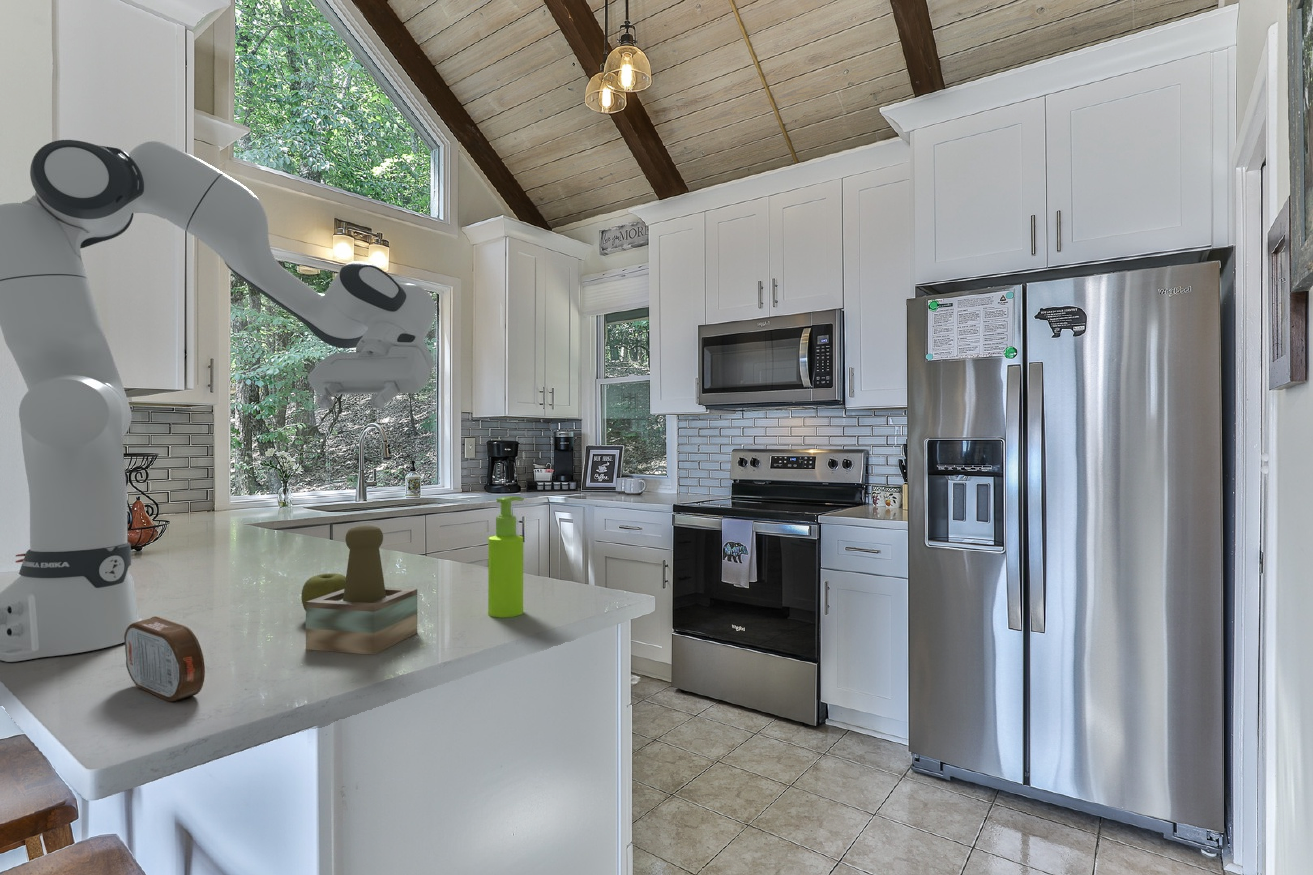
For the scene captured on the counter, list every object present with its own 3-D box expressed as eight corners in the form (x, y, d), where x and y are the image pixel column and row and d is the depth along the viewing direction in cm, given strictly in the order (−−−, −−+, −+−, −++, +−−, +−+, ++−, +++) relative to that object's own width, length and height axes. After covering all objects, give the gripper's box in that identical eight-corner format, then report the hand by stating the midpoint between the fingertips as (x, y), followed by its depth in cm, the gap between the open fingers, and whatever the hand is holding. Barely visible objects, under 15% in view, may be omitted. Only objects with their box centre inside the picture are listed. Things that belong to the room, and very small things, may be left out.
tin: (207, 701, 80) (207, 628, 80) (177, 710, 77) (177, 635, 77) (148, 677, 88) (148, 610, 88) (119, 684, 85) (119, 616, 85)
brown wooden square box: (305, 649, 99) (305, 601, 99) (354, 628, 110) (354, 585, 110) (374, 654, 97) (374, 606, 97) (417, 632, 108) (417, 588, 108)
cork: (376, 604, 101) (376, 529, 101) (335, 604, 101) (334, 529, 101) (392, 595, 107) (392, 523, 107) (353, 595, 107) (353, 523, 107)
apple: (301, 626, 111) (301, 582, 111) (301, 615, 118) (301, 573, 118) (353, 621, 114) (353, 577, 114) (349, 610, 122) (349, 569, 121)
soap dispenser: (533, 609, 122) (533, 496, 122) (509, 619, 116) (509, 499, 116) (506, 606, 124) (506, 494, 124) (481, 615, 118) (481, 498, 118)
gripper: (324, 339, 122) (283, 392, 112) (429, 336, 117) (396, 390, 108) (340, 367, 126) (302, 420, 117) (443, 365, 122) (412, 419, 112)
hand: (348, 405), depth 112 cm, fingers open, 8 cm apart
